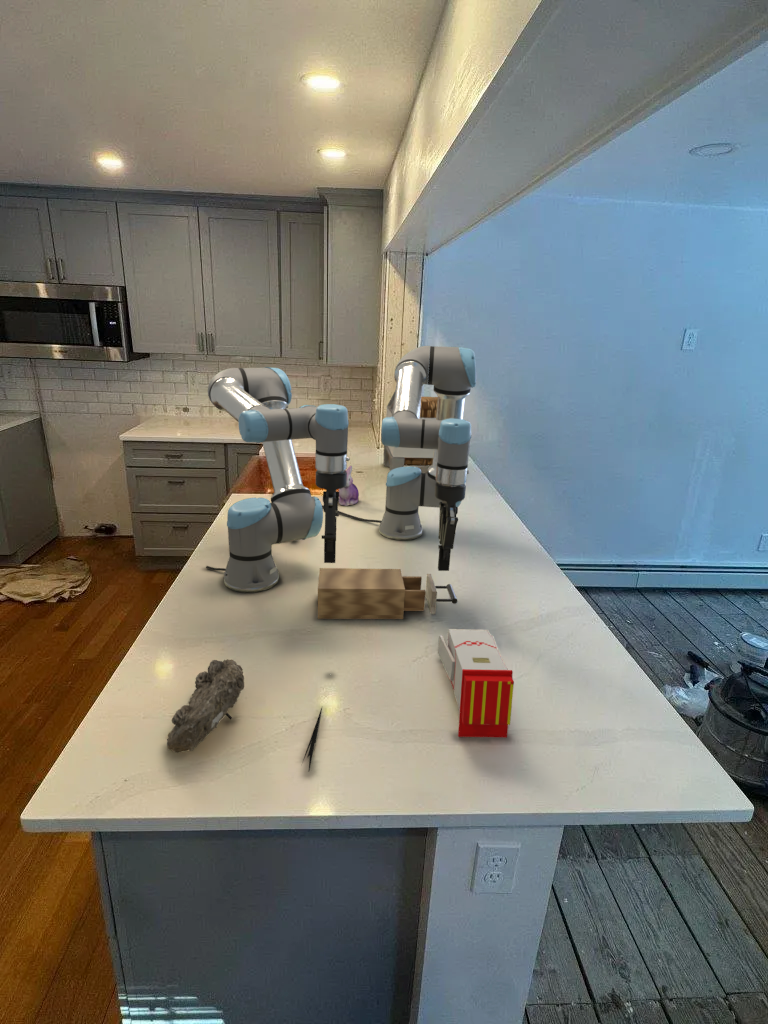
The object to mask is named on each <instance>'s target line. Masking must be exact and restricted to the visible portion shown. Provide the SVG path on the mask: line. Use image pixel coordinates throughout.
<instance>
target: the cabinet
mask: <svg viewBox="0 0 768 1024" xmlns="http://www.w3.org/2000/svg"><path fill="white" fill-rule="evenodd" d="M318 573H319V574H318V581H317V619H318V620H324V619H325V620H363V619H364V620H403V619H404V612H405V611H404V597H405V587H404V582H403V578H402V576H403V574H402V569H401V568H345V567H344V568H343V567H342V568H341V567H340V568H338V567H335V568H334V567H320V568H319V571H318Z"/></svg>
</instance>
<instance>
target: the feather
mask: <svg viewBox="0 0 768 1024" xmlns="http://www.w3.org/2000/svg"><path fill="white" fill-rule="evenodd" d="M329 675H330V676H331V675H332V674H331V673H330V674H329ZM322 710H323V707H321V708H320V710H319V713H318V716H317V719H316V723H315V725H314V728H313V731H312V733H311V737H310V739H309V742H308V745H307V748H306V751H305V754H304V757H303V760H302V763H301V767H302V765H303V763H304V761H305V758H308V759H309V760H308V762H307V763H308V764H307V766H308V771H310V770H311V766H312V765H311V764H312V760H313V757H315V756H314V755H315V751H316V749H315V746H317V739H318V733H319V729H320V722H321V717H322V712H323V711H322ZM313 754H314V755H313ZM306 755H307V757H306Z"/></svg>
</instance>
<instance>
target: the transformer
mask: <svg viewBox="0 0 768 1024" xmlns="http://www.w3.org/2000/svg"><path fill="white" fill-rule="evenodd" d="M394 397H395V391H394V392H393V394H392V395H391V398H390V400H389V402H388V404H387V405H386V413H385V414H386V415H385V418H386V417H392V410H393V403H394ZM437 400H438V396H421V404H420V416H419V419H427V420H436V413H437ZM463 420H465V419H464V418H463ZM433 452H434V449H423V448H403V447H398V448H396V447H392V446H385V445H383V466H384V467H388V468H389V472H390V471H391V470H393V469H395V468H399V467H405V466H406V467H408V466H411V467H417V466H418V467H430V466H431V465H432V464H433Z"/></svg>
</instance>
